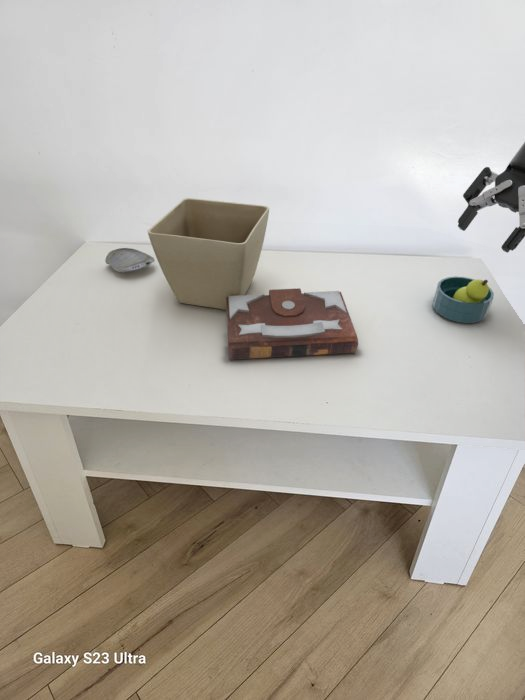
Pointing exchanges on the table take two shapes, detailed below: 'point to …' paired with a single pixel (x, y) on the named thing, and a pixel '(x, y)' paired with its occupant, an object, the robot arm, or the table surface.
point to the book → (289, 324)
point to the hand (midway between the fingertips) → (481, 239)
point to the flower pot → (209, 249)
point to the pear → (472, 292)
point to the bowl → (456, 308)
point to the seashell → (128, 259)
